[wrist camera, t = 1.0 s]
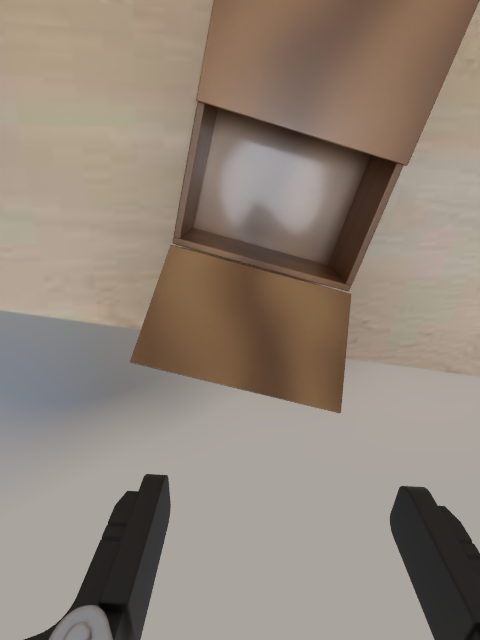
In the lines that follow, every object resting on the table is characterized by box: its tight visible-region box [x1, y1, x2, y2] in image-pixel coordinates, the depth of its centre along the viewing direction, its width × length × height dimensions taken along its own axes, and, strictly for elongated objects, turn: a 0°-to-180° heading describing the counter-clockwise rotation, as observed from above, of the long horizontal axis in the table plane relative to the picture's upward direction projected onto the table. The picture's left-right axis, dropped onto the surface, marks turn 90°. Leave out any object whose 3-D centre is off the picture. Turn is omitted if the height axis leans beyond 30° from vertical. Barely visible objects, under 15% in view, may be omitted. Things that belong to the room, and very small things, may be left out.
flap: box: [130, 245, 351, 413], centre depth 22 cm, size 14×9×1 cm
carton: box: [173, 0, 479, 291], centre depth 23 cm, size 14×18×7 cm
